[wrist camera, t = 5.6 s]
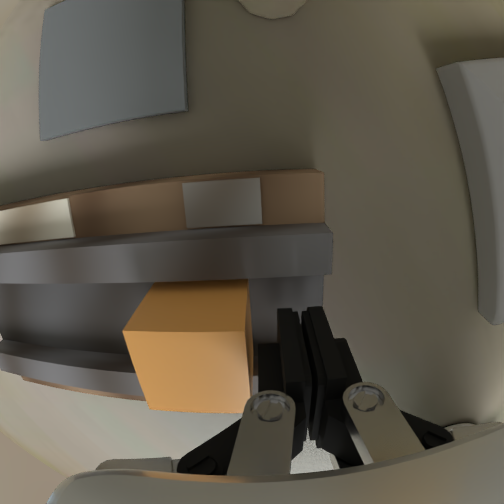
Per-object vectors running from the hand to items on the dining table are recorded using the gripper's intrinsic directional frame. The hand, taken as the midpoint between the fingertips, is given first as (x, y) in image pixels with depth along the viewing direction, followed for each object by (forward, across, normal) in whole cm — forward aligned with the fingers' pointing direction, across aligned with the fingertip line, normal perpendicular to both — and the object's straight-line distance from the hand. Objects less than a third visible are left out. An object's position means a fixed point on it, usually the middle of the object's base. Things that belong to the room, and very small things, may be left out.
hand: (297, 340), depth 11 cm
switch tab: (+2, +4, 0) cm, 4 cm away
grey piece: (+4, +9, 0) cm, 10 cm away
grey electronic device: (+5, -15, -6) cm, 17 cm away
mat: (+4, +8, -13) cm, 16 cm away
